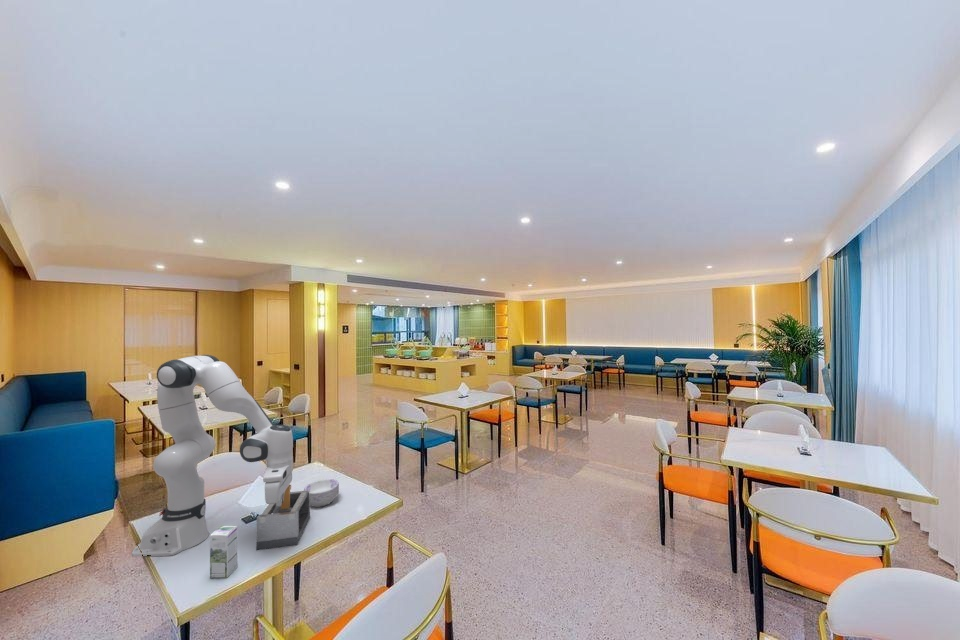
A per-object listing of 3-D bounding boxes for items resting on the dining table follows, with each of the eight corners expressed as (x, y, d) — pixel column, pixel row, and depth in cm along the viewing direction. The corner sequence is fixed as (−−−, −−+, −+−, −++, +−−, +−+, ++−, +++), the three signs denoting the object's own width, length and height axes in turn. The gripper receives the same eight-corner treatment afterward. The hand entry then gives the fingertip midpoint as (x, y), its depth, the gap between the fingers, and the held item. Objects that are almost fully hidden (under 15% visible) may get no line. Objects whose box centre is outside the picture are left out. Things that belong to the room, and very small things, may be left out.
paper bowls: (299, 501, 170) (299, 484, 170) (332, 491, 180) (332, 475, 180) (309, 514, 159) (309, 495, 159) (343, 502, 169) (343, 485, 169)
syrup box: (238, 566, 124) (238, 524, 124) (226, 578, 118) (227, 534, 118) (221, 567, 124) (221, 524, 124) (208, 579, 118) (209, 534, 118)
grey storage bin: (297, 545, 136) (297, 513, 136) (256, 550, 133) (256, 517, 133) (309, 517, 156) (310, 490, 156) (274, 521, 152) (274, 493, 153)
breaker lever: (290, 513, 144) (290, 487, 144) (278, 514, 143) (278, 488, 143) (292, 510, 146) (292, 484, 146) (280, 511, 145) (280, 485, 145)
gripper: (279, 459, 147) (279, 493, 147) (261, 479, 127) (261, 519, 127) (296, 457, 149) (296, 491, 149) (280, 478, 129) (280, 516, 129)
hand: (279, 504), depth 138 cm, fingers closed
